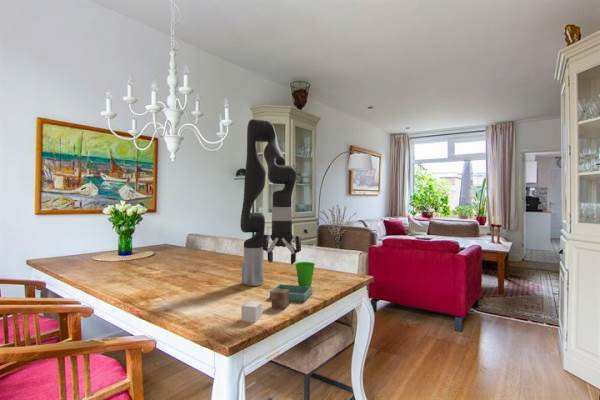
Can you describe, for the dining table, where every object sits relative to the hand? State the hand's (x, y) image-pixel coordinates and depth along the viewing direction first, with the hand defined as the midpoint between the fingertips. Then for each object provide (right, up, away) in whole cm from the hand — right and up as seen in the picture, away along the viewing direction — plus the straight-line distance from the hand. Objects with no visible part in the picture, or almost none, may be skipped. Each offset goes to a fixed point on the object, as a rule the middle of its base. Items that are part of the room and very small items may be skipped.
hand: (281, 262), depth 119 cm
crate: (+3, -16, +12) cm, 21 cm away
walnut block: (0, -16, 0) cm, 16 cm away
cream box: (-9, -16, -12) cm, 22 cm away
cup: (+9, -16, +24) cm, 31 cm away
